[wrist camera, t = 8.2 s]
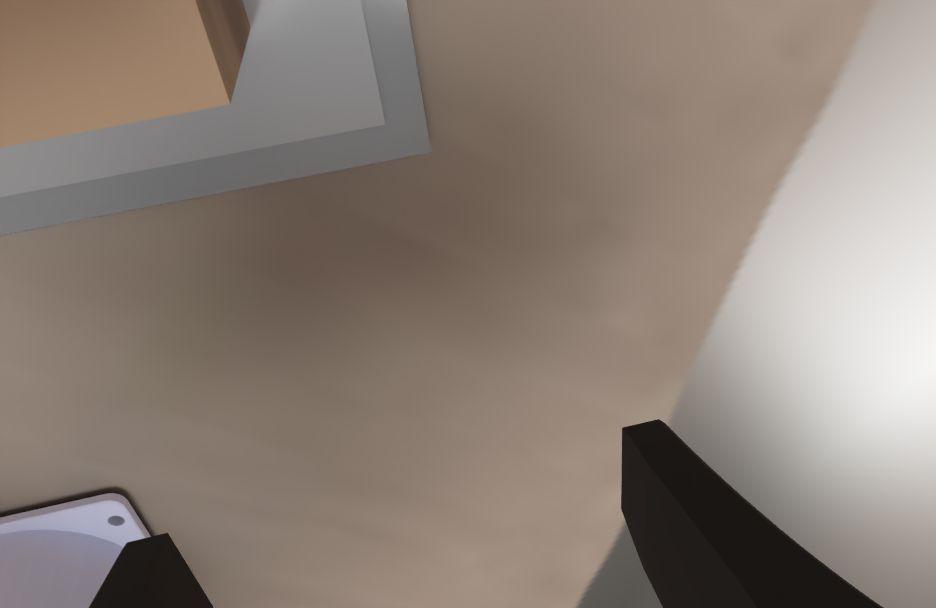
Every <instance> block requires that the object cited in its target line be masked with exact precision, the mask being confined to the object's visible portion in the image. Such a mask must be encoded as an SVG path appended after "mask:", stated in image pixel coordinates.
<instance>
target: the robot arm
mask: <svg viewBox="0 0 936 608" xmlns="http://www.w3.org/2000/svg"><path fill="white" fill-rule="evenodd" d="M621 509H622V512H623V515H624V517H625V520H626V523H627V526H628V528H629V531H630V534H631V536H632V539H633V542H634V545H635V547H636V550H637V552H638V555H639V558H640V560H641V563H642V565H643V568H644V570H645V572H646V574H647V576H648V578H649V580H650V582H651V584H652V586H653V588H654V590H655V592H656V594H657V596H658V598H659V600H660V602H661V604H662V606H663V608H883V607H882V606H880V605H879V604H877V603H876V602H874V601H873V600H871V599H870V598H869V597H867V596H866V595H864V594H863V593H862V592H860V591H859V590H858V589H856V588H855V587H853V586H852V585H851V584H849V583H848V582H847V581H845V580H844V579H843V578H841V577H840V576H839V575H837V574H836V573H835V572H833V571H832V570H831V569H829V568H828V567H827V566H826V565H824V564H823V563H822V562H820V561H819V560H818V559H817V558H815V557H814V556H813V555H811V554H810V553H809V552H808V551H806V550H805V549H804V548H803V547H801V546H800V545H799V544H797V543H796V542H795V541H794V540H793V539H791V538H790V537H789V536H788V535H787V534H785V533H784V532H783V531H782V530H780V529H779V528H778V527H777V526H776V525H774V524H773V523H772V522H771V521H770V520H769V519H767V518H766V517H765V516H764V515H763V514H762V513H761V512H759V511H758V510H757V509H756V508H755V507H753V506H752V505H751V504H750V503H749V502H748V501H747V500H745V499H744V498H743V497H742V496H741V495H740V494H739V493H738V492H736V491H735V490H734V489H733V488H732V487H731V486H730V485H729V484H728V483H726V482H725V481H724V480H723V479H722V478H721V477H720V476H719V475H718V474H717V473H716V472H715V471H713V470H712V469H711V468H710V467H709V466H708V465H707V464H706V463H705V462H704V461H703V460H702V459H701V458H700V457H699V456H698V455H697V454H696V453H694V452H693V451H692V450H691V449H690V448H689V447H688V446H687V445H686V444H685V443H684V442H683V441H682V440H681V439H680V438H679V437H678V436H677V435H676V434H675V433H674V432H673V431H672V430H671V429H670V428H669V427H668V426H667V425H666V424H665V423H664V422H662V421H661V420H659V419H658V420H654V421H650V422H645V423H641V424H637V425H632V426H628V427H624V428H622V495H621ZM117 516H118V517H117ZM0 608H213V606H212V604H211V603H210V601H209V599H208V598H207V596H206V594H205V593H204V591H203V590H202V588H201V586H200V585H199V583H198V581H197V580H196V578H195V577H194V575H193V573H192V572H191V570H190V568H189V567H188V565H187V564H186V562H185V560H184V559H183V557H182V555H181V554H180V552H179V551H178V549H177V547H176V546H175V544H174V542H173V541H172V539H171V538H170V536H169V534H168V533H165V534H161V535H157V536H152V537H151V536H150V534H149V533H148V531H147V530H146V528H145V527H144V525H143V524H142V522H141V520H140V519H139V517H138V516H137V514H136V513H135V511H134V509H133V508H132V506H131V505H130V503H129V502H128V500H127V499H126V498H125V497H124V496H122V495H120V494H116V493H107V494H103V495H98V496H94V497H89V498H85V499H80V500H76V501H72V502H67V503H63V504H58V505H54V506H49V507H45V508H41V509H36V510H32V511H27V512H23V513H18V514H14V515H9V516H5V517H1V518H0Z"/></svg>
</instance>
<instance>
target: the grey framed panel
mask: <svg viewBox="0 0 936 608" xmlns="http://www.w3.org/2000/svg"><path fill="white" fill-rule="evenodd" d="M242 1H243V4H244V7H245V11H246V14H247V17H248V21H249V24H250V27H251V29H250V33H249V37H248V40H247V44H246V48H245V51H244V55H243V59H242V63H241V66H240V70H239V74H238V78H237V81H236V85H235V89H234V92H233V96H232V100H231V104H229V105H223V106H218V107H213V108H208V109H202V110H197V111H192V112H186V113H181V114H176V115H171V116H165V117H160V118H155V119H149V120H144V121H139V122H134V123H128V124H123V125H118V126H112V127H107V128H102V129H97V130H91V131H86V132H81V133H75V134H70V135H65V136H59V137H54V138H49V139H44V140H38V141H33V142H28V143H22V144H17V145H12V146H7V147H1V148H0V236H1V235H7V234H12V233H17V232H22V231H27V230H32V229H38V228H43V227H48V226H53V225H58V224H63V223H69V222H74V221H79V220H84V219H89V218H95V217H100V216H105V215H110V214H115V213H120V212H126V211H131V210H136V209H141V208H146V207H151V206H157V205H162V204H167V203H172V202H177V201H182V200H188V199H193V198H198V197H203V196H208V195H214V194H219V193H224V192H229V191H234V190H239V189H245V188H250V187H255V186H260V185H265V184H270V183H276V182H281V181H286V180H291V179H296V178H301V177H307V176H312V175H317V174H322V173H327V172H333V171H338V170H343V169H348V168H353V167H358V166H364V165H369V164H374V163H379V162H384V161H389V160H395V159H400V158H405V157H410V156H415V155H420V154H426V153H431V148H430V142H429V136H428V129H427V123H426V117H425V111H424V105H423V99H422V93H421V87H420V81H419V75H418V68H417V62H416V56H415V50H414V44H413V38H412V32H411V26H410V20H409V13H408V7H407V1H406V0H242Z"/></svg>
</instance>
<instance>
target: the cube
mask: <svg viewBox="0 0 936 608" xmlns="http://www.w3.org/2000/svg"><path fill="white" fill-rule="evenodd" d="M250 29H251V27H250V24H249V21H248V17H247V14H246V11H245V7H244V4H243V1H242V0H0V148H1V147H7V146H12V145H17V144H22V143H28V142H33V141H38V140H44V139H49V138H54V137H59V136H65V135H70V134H75V133H81V132H86V131H91V130H97V129H102V128H107V127H112V126H118V125H123V124H128V123H134V122H139V121H144V120H149V119H155V118H160V117H165V116H171V115H176V114H181V113H186V112H192V111H197V110H202V109H208V108H213V107H218V106H223V105H229V104H231V100H232V96H233V92H234V89H235V85H236V81H237V78H238V74H239V70H240V66H241V63H242V59H243V55H244V51H245V48H246V44H247V40H248V37H249V33H250Z"/></svg>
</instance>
